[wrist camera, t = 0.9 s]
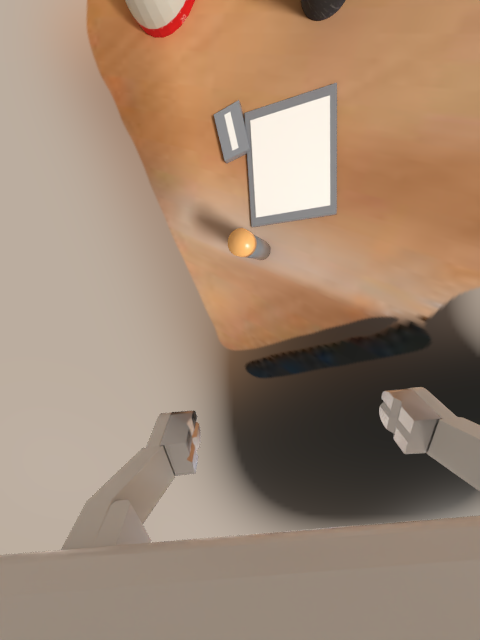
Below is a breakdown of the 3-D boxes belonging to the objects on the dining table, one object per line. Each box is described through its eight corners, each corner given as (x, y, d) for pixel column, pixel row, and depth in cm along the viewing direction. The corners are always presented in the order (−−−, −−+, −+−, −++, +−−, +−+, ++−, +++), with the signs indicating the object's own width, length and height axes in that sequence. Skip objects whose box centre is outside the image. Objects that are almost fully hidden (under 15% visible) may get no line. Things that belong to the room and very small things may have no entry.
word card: (216, 118, 42) (213, 114, 41) (240, 104, 40) (238, 99, 39) (226, 163, 43) (224, 160, 42) (251, 151, 41) (249, 148, 40)
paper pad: (245, 114, 40) (244, 112, 39) (336, 85, 35) (336, 81, 35) (252, 227, 44) (251, 226, 43) (336, 214, 39) (336, 213, 38)
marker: (251, 241, 44) (226, 230, 32) (270, 239, 43) (252, 226, 31) (252, 261, 45) (228, 257, 33) (271, 259, 44) (253, 254, 32)
